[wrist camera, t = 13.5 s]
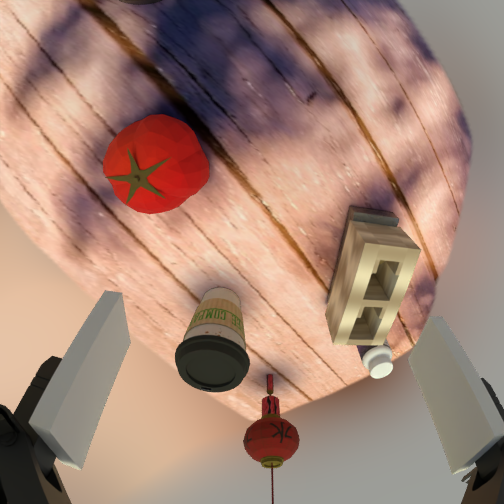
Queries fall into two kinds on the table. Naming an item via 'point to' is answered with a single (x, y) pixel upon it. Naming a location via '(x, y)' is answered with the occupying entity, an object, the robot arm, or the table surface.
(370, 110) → the table surface
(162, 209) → the tomato
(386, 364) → the pill bottle
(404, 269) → the cinder block
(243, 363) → the coffee cup
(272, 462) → the lantern
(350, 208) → the post rail
